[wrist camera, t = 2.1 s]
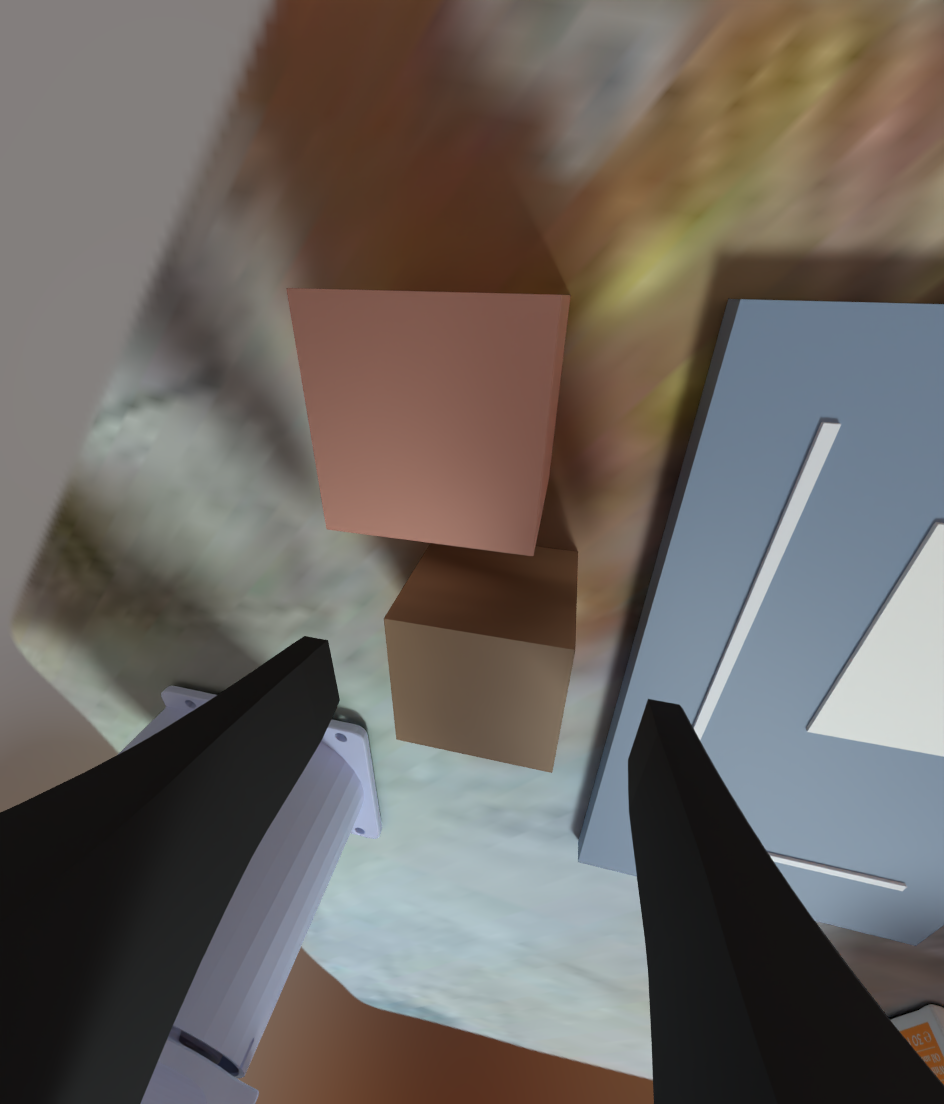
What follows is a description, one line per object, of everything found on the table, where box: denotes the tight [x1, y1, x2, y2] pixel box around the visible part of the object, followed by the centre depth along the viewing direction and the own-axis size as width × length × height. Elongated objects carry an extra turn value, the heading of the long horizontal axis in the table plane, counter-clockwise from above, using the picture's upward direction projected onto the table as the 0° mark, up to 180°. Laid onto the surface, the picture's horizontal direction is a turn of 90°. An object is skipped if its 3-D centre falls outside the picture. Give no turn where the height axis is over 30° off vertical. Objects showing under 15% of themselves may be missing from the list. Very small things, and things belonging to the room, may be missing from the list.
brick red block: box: [287, 288, 570, 556], centre depth 9 cm, size 4×4×4 cm
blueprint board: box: [578, 299, 944, 946], centre depth 12 cm, size 12×20×1 cm, turn 178°
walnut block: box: [384, 543, 578, 773], centre depth 12 cm, size 4×4×4 cm
